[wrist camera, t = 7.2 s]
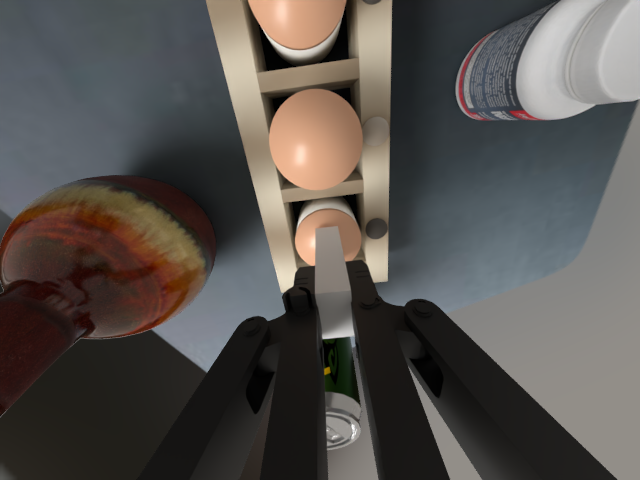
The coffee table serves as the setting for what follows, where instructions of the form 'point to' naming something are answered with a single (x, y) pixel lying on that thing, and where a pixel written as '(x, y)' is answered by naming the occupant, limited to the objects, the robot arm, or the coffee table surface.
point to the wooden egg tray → (262, 86)
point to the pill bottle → (554, 62)
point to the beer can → (341, 393)
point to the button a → (300, 27)
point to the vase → (95, 269)
